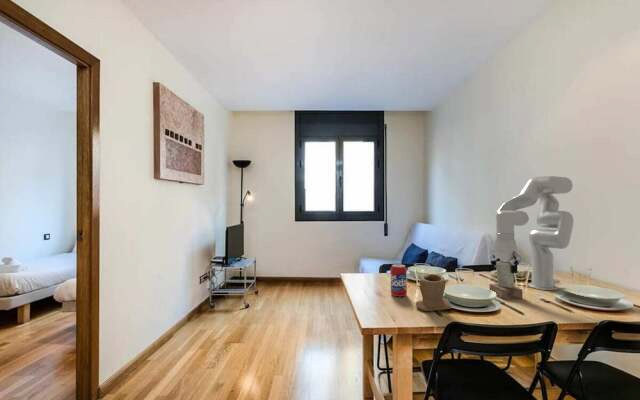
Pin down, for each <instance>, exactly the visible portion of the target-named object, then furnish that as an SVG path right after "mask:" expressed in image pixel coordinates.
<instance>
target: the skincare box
mask: <svg viewBox="0 0 640 400" xmlns="http://www.w3.org/2000/svg"><path fill="white" fill-rule="evenodd" d="M511 265H512V264H511V262H510V261H507V260H500V261H497V262H496V266H497V269H496V284H497V286H502V287H507V288H512V287H514V286H515V278H514V275H515V273H511Z"/></svg>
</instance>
